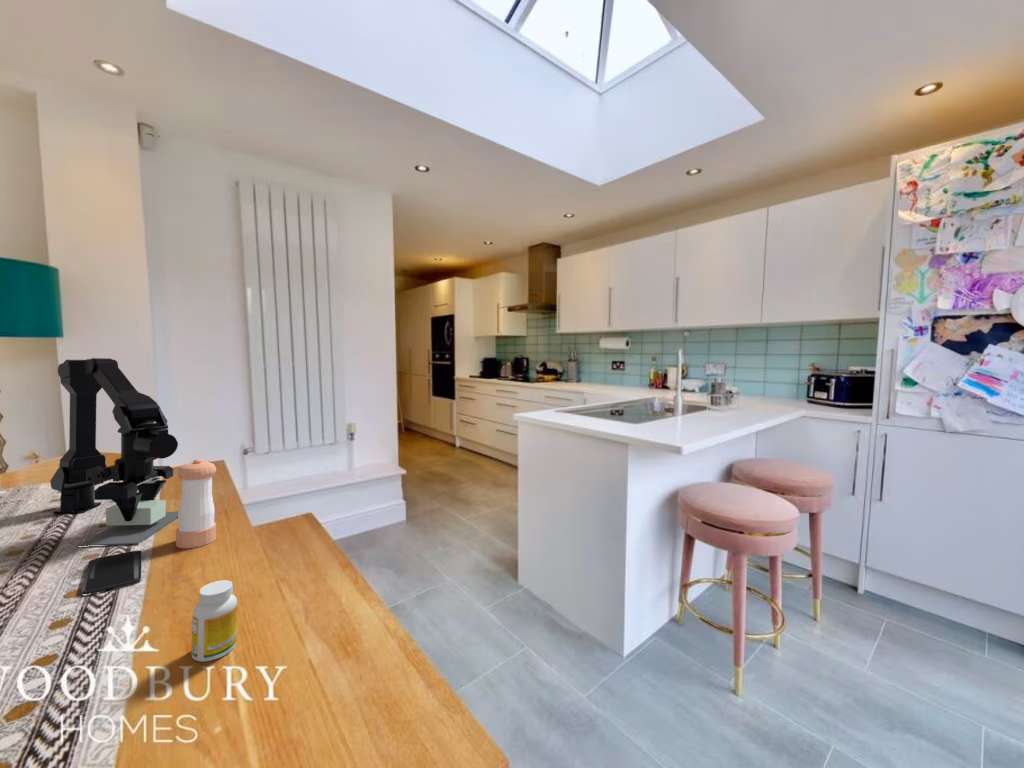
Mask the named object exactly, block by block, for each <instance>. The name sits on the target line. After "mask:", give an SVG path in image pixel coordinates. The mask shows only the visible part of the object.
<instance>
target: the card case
mask: <svg viewBox="0 0 1024 768" xmlns="http://www.w3.org/2000/svg"><path fill="white" fill-rule="evenodd" d="M166 502H167V501H166V500H164V499H163V500H162V499H160V500H158V499H155V500H142V501H139V504H138V506H137V509H136V512H135V514H134V517H133V519H132V521H125V519H124V517H123V515H122V513H121V511H120V509H119V507H118V506H117V504H116V503H115V504H113V505H111V506H108V507H107V508H105V526H106V527H107V526H109V527H111V526H113V525H151V524H153V523H154V522H156V521H158V520H159V519H161V518H163V517H164V516H165V515H166V512H167V511H166V505H167V503H166Z"/></svg>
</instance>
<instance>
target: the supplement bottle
mask: <svg viewBox="0 0 1024 768" xmlns="http://www.w3.org/2000/svg"><path fill="white" fill-rule="evenodd" d="M233 588H234V587H233V582H232V581H231V580H225V579H224V580H223V579H221V580H217V581H216V580H215V581H212V582H210V583H207V584H205V585H204V586H201V588H200V589H199V592H198V602H197V603H196V604H195V605H194V606H193V609H192V612H191V613H192V615H191V648H190V649H191V657H192V659H193V660H194V661H197V662H202V663H203V662H204V663H205V662H211V661H214V660H217V659H220V658H223V657H224V656H226V655H227V654H228V653H230V652H231V651H232V650H233V649H234V647H235V646H236V642H237V623H238V598H237V597H236V595H234V594H233V591H234V589H233Z"/></svg>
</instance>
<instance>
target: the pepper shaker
mask: <svg viewBox="0 0 1024 768" xmlns="http://www.w3.org/2000/svg"><path fill="white" fill-rule="evenodd" d="M216 472H217V468H216V465H215V463H212V462H209V461H206V460H205V461H203V460H202V459H200V458H196V459H194V460H193V461H192V462H188V463H185V464H183V465H181V466H180V467H179V468H178V470H177V477H178V478H179V479H180V480H181V499H180V503H179V504H180V505H179V508H178V511H179V512H178V511H177V512H178V518H177V522H178V525H177V526H178V527H177V528H176V529H175V546H176V547H177V548H179V547H180V548H179V549H195V548H199V547H203V546H207V545H209V544H211V543H213V542H214V541H215V540H216V537H217V523H216V521H215V512H216V511H215V504H214V503H215V502H214V500H213V499H214V498H213V477H214V476H215V474H216Z"/></svg>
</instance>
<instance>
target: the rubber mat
mask: <svg viewBox="0 0 1024 768" xmlns="http://www.w3.org/2000/svg"><path fill="white" fill-rule="evenodd" d="M178 512H179V510H177V511H166V515H165V516H164V517H163V518H161V519H159V520H158V521H156V522H154V523H153V524H151V525H113V526H109V527H108V528H106V529H104V530H102V531H101V532H99V533H97V534H95V535H94V536H92V537H89V539H86V540H84V541H83V542H81V543H79V544H77V546H85V545H86V546H88V545H89V546H90V545H123V546H130V545H129V544H139V543H140V542H141V543H142V541H143V540H144V541H145V539H146V538H147V539H149V538H150V537H152V536H153V535H155V534H156V533H158V532H159V531H161V530H162V529H163V527H164V526H165V527H167V526H168V525H170V524H171V523H173V522H174V521H175V520H177V519H178V518H177V517H178ZM176 518H177V519H176ZM173 520H174V521H173ZM172 521H173V522H172ZM170 522H171V523H170ZM169 523H170V524H169ZM167 524H168V525H167ZM166 525H167V526H166ZM165 527H164V528H165ZM161 528H162V529H161ZM160 529H161V530H160ZM158 530H159V531H158ZM157 531H158V532H157ZM155 532H156V533H155ZM154 533H155V534H154ZM152 534H153V535H152ZM151 535H152V536H151ZM149 536H150V537H149ZM148 537H149V538H148ZM147 539H146V540H147ZM144 541H143V542H144ZM141 543H140V544H141ZM140 544H139V545H140Z"/></svg>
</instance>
